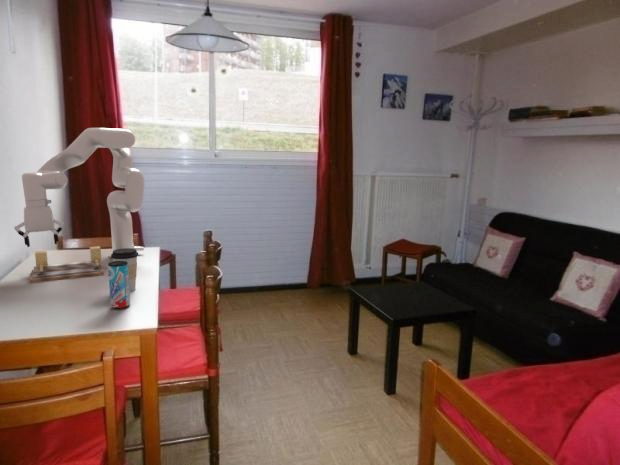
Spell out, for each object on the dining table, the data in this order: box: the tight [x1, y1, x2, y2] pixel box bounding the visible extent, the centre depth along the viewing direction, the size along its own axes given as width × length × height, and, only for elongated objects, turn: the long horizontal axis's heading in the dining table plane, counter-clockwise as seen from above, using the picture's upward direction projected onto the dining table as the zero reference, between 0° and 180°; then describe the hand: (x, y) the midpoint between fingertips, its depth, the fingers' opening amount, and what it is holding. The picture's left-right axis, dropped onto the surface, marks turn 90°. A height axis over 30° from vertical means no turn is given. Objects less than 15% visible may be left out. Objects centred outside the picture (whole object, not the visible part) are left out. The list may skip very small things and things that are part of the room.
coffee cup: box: [110, 248, 139, 293], centre depth 161 cm, size 9×9×15 cm
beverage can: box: [107, 261, 131, 310], centre depth 144 cm, size 6×6×15 cm
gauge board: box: [29, 260, 105, 284], centre depth 182 cm, size 26×16×3 cm, turn 119°
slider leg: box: [34, 250, 49, 273], centre depth 177 cm, size 4×10×7 cm, turn 29°
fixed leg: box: [89, 245, 102, 268], centre depth 187 cm, size 4×10×7 cm, turn 29°
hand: (42, 244), depth 179 cm, fingers open, 9 cm apart
